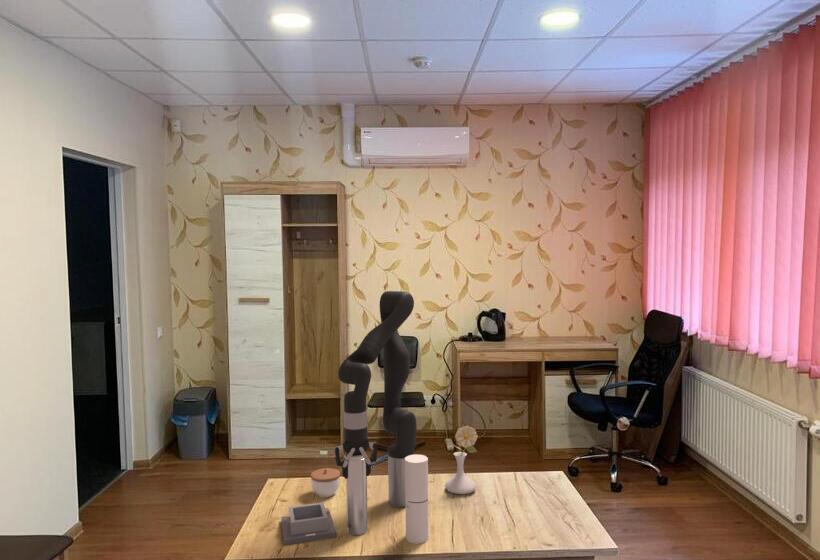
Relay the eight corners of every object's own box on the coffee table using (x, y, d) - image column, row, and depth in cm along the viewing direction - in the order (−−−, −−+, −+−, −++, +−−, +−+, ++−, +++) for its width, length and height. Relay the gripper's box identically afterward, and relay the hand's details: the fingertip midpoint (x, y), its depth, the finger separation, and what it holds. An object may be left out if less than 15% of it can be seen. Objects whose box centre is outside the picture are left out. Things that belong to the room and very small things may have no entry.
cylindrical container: (421, 545, 170) (420, 464, 169) (401, 539, 174) (400, 460, 173) (433, 535, 176) (432, 457, 175) (413, 529, 180) (412, 453, 179)
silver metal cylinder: (364, 536, 176) (363, 458, 175) (344, 534, 177) (343, 456, 176) (370, 526, 182) (368, 450, 181) (350, 525, 184) (349, 449, 183)
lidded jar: (318, 503, 201) (317, 477, 200) (306, 492, 210) (306, 467, 209) (345, 495, 206) (344, 470, 206) (332, 485, 215) (332, 461, 215)
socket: (329, 514, 191) (329, 498, 191) (336, 536, 176) (336, 519, 176) (281, 521, 187) (281, 505, 187) (284, 544, 172) (284, 527, 171)
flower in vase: (439, 492, 208) (438, 425, 207) (455, 482, 217) (454, 418, 216) (470, 500, 201) (469, 431, 200) (485, 489, 210) (484, 423, 209)
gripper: (375, 419, 184) (375, 469, 185) (331, 423, 180) (332, 474, 181) (380, 426, 177) (381, 478, 178) (334, 430, 173) (335, 483, 174)
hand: (356, 476), depth 179 cm, fingers closed on silver metal cylinder, 6 cm apart
